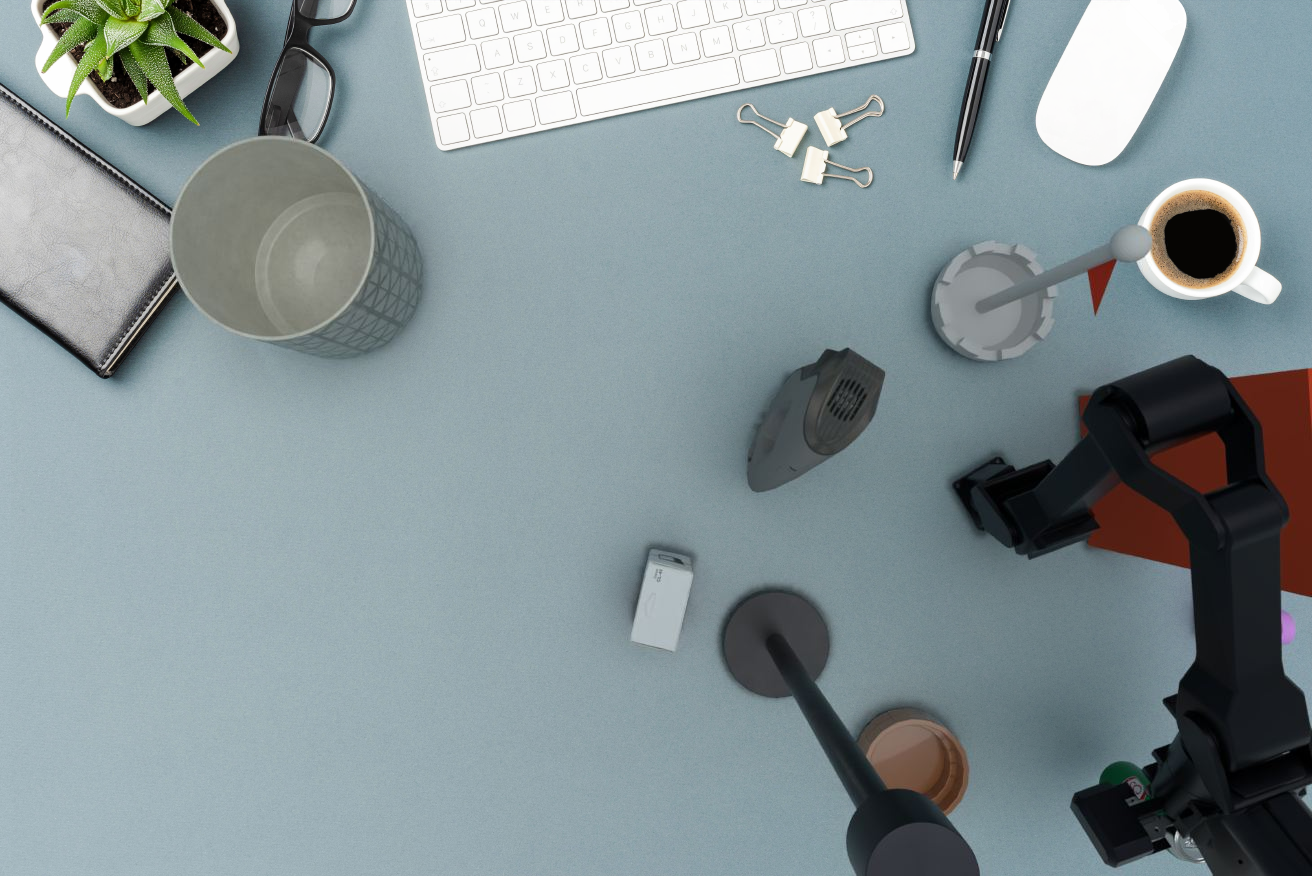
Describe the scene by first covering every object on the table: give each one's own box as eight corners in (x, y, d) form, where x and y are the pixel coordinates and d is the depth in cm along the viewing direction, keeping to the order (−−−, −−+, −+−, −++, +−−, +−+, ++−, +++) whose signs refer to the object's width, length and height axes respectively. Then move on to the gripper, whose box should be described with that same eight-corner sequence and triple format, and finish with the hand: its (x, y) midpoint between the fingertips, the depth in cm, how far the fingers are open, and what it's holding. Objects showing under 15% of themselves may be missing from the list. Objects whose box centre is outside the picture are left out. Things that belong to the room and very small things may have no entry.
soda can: (1100, 754, 83) (1176, 808, 71) (1146, 763, 83) (1230, 818, 71) (1091, 800, 83) (1166, 862, 71) (1137, 809, 83) (1220, 872, 71)
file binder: (1083, 545, 89) (1324, 600, 57) (1075, 396, 89) (1309, 368, 57) (1153, 541, 89) (1432, 594, 57) (1144, 392, 89) (1417, 362, 57)
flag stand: (929, 245, 89) (1069, 143, 59) (1041, 260, 89) (1236, 166, 59) (914, 356, 89) (1046, 310, 59) (1026, 371, 89) (1214, 334, 59)
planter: (258, 207, 89) (157, 146, 71) (421, 189, 89) (362, 124, 71) (275, 370, 89) (178, 350, 71) (439, 352, 89) (384, 328, 71)
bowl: (834, 739, 89) (843, 754, 85) (921, 687, 89) (934, 699, 85) (886, 826, 89) (897, 845, 84) (972, 774, 89) (988, 791, 85)
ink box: (674, 629, 89) (677, 657, 77) (631, 619, 89) (628, 645, 77) (691, 555, 89) (697, 571, 77) (648, 545, 89) (648, 560, 77)
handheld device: (839, 392, 89) (911, 371, 64) (768, 503, 89) (813, 524, 64) (794, 364, 89) (849, 331, 64) (724, 474, 89) (752, 485, 64)
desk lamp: (703, 623, 89) (763, 839, 40) (792, 570, 89) (962, 720, 40) (756, 713, 89) (883, 1041, 40) (845, 659, 89) (1082, 921, 40)
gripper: (1171, 910, 59) (1130, 950, 70) (1398, 827, 59) (1321, 880, 70) (1079, 769, 67) (1055, 825, 78) (1280, 696, 67) (1228, 762, 78)
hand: (1163, 825), depth 76 cm, fingers closed on soda can, 5 cm apart
